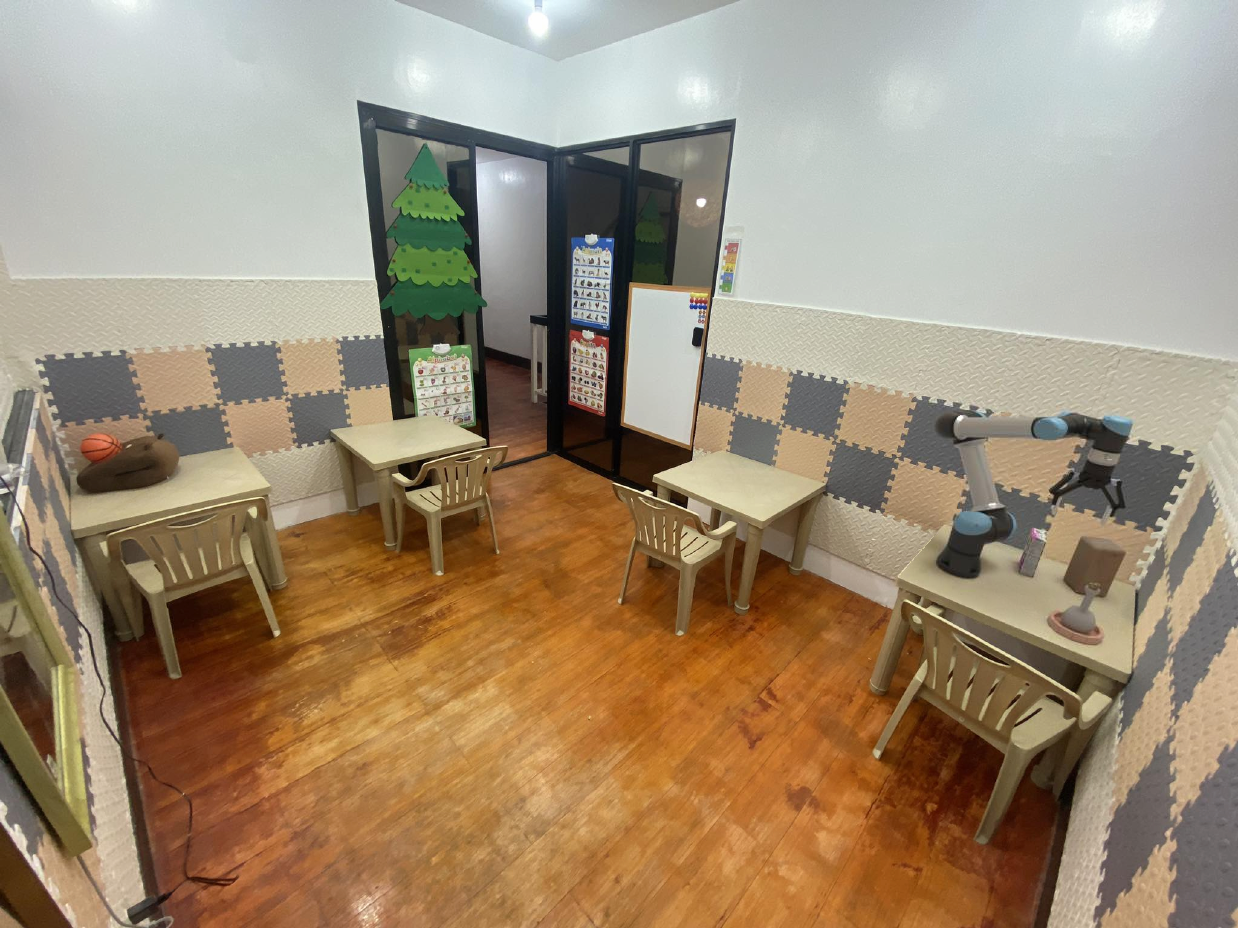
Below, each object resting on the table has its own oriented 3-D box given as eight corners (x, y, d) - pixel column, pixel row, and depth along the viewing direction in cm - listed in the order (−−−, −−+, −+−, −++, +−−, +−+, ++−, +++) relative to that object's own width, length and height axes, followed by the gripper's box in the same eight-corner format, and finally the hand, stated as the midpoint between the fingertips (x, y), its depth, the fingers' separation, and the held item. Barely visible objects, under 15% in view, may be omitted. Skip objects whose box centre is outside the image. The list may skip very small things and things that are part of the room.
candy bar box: (1018, 561, 217) (1031, 526, 211) (1033, 566, 214) (1047, 530, 208) (1017, 573, 208) (1031, 537, 202) (1033, 577, 206) (1047, 541, 200)
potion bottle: (1082, 639, 170) (1104, 593, 164) (1052, 622, 178) (1072, 577, 171) (1097, 633, 174) (1119, 587, 167) (1067, 617, 181) (1087, 573, 175)
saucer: (1051, 633, 174) (1054, 627, 173) (1045, 611, 185) (1047, 605, 184) (1105, 650, 167) (1108, 643, 166) (1095, 626, 178) (1098, 620, 178)
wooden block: (1106, 597, 195) (1128, 551, 188) (1076, 593, 197) (1096, 547, 189) (1089, 583, 204) (1110, 538, 197) (1061, 579, 206) (1080, 534, 199)
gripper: (1056, 456, 176) (1034, 512, 184) (1154, 474, 165) (1127, 533, 173) (1052, 450, 182) (1032, 505, 190) (1147, 467, 171) (1121, 524, 179)
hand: (1077, 518), depth 181 cm, fingers open, 13 cm apart
